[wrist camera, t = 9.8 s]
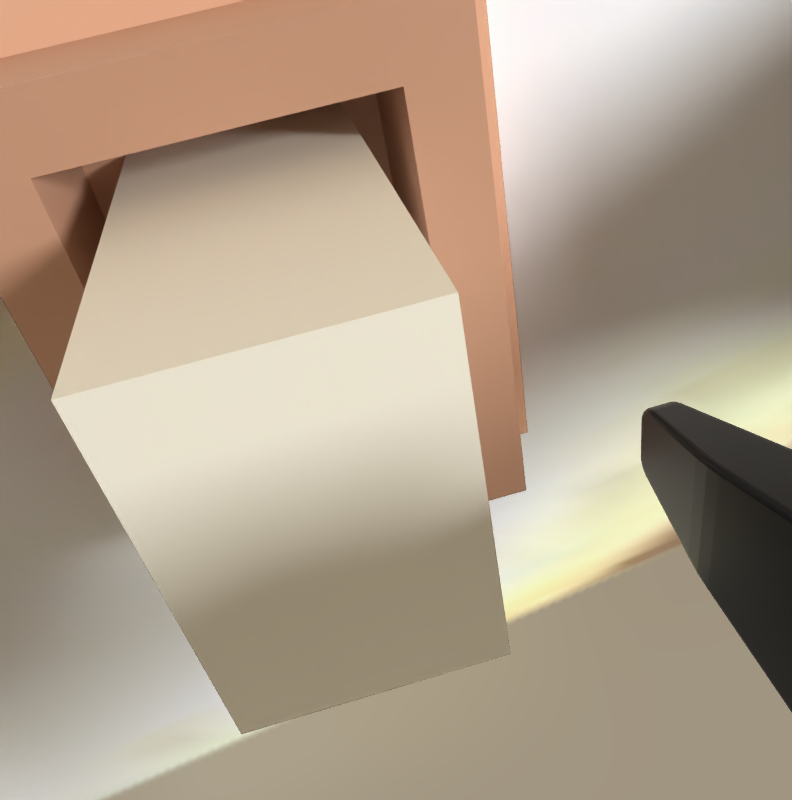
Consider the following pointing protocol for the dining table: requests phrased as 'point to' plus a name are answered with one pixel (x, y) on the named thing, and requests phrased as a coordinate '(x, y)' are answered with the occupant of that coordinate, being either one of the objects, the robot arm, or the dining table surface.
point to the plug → (287, 417)
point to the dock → (246, 104)
